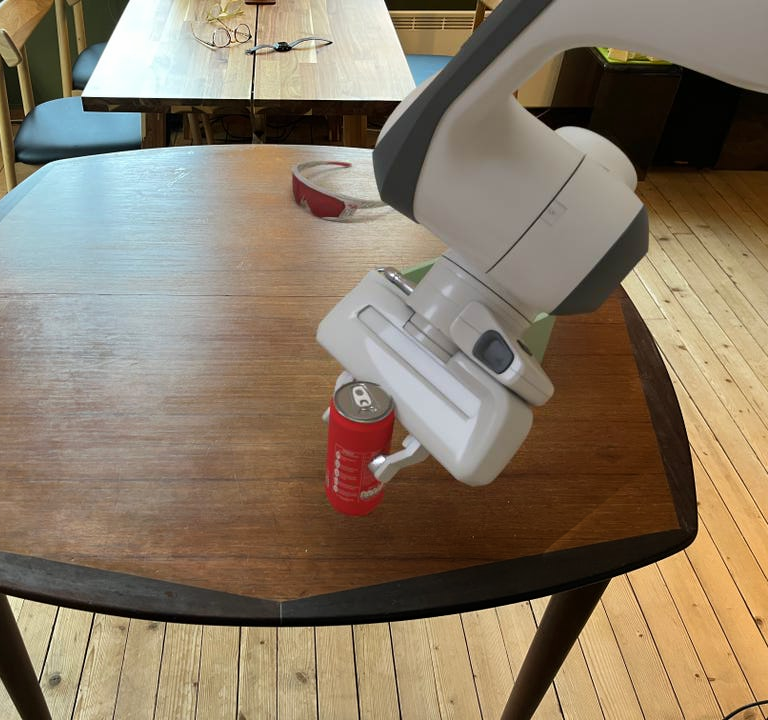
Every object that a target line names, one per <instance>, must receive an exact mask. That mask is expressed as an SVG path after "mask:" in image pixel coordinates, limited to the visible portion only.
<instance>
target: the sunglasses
mask: <svg viewBox="0 0 768 720" xmlns="http://www.w3.org/2000/svg"><path fill="white" fill-rule="evenodd" d="M329 165H330V166H332V165H333V166H339V167H346V168H350V167H352V166H353V163H352V162H347V161H341V160H307V161H301V162H298V163H296V164H294V165H293V167H292V171H291V191H292V198H293V201H295V202H296V204H297V205H302V204H303V202H305V201H306V203H307V206H308V208H309V210H310V212H311V213H312V215H313V216H315V217H318V218H321V219H323V220H329V221H344V220H347V219H348V218H349V217H353V216H354V215H355V213H356V212H357V211H358V210H371V209H378V208H383V207H384V208H385V207H390V206H389V205H387V204H386V203H384V202H383V201H382V200H375V199H374V200H373V199H361V198H356V197H352V196H349V195H345V194H341V193H338V192H335V191H331V190H329V189H327V188H324V187H321V186H319V185H317V184H316V183H315V184H314V183H313V182H312V181H310V180H309V179H307V178H306V177H304V176H303V175H302V174H300V173H301V172H303V171H305V170H307V169H311V168H314V167H318V166H320V167H321V166H329Z"/></svg>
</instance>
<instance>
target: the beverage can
mask: <svg viewBox="0 0 768 720" xmlns="http://www.w3.org/2000/svg"><path fill="white" fill-rule="evenodd" d="M377 386H381V385H379V384H377V383H375V382H371V381H365V380H357V381H351V382H348V383H346V384H344V385H342V386H341V387H339V388H338V389H337V391H336V392H335V394H334V393H333V395H334V397H333V396H332V398H331V399H330V403H329V407H330V412H329V426H328V430H327V447H326V460H325V462H326V463H325V476H324V477H325V478H324V493H325V496H326V499H327V500H328V502H329V504H330V505H331V507H332V509H334V510H335V511H336V512H337V513H339V514H340V515H342V516H345V517H348V518H362V517H365V516H368V515H369V514H371V513H372V512H373V511H374V510H375V509H376V508H377V507H378V506H379V505H380V503H382V501H383V498H384V496H385V495H384V494H385V488H386V483H383V482H380V481H378V480H377V479H376V478H375V477H374V476H373V475H372V473H371V472H370V471H369V470H368V469H367V466H368V464H369V463H370V462H372V461H373V459H374V457H375V456H376V455H377V454H378V453H379V452H381V453H384V454H385V455H386V454H387V455H389V456H390V455H391V447H392V440H393V433H394V426H395V420H396V419H395V418H394V410H393V405H394V402H393V398H392V396H391V395H390V397H391V401H389V398H388V396H387V394H386V393H385V392H384V391H383V390H382V389H381V388H379V387H377Z"/></svg>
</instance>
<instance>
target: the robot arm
mask: <svg viewBox="0 0 768 720" xmlns="http://www.w3.org/2000/svg"><path fill="white" fill-rule="evenodd" d="M589 47H591V48H605V49H612V50H619V51H624V52H628V53H634V54H638V55H642V56H645V57H649V58H654V59H658V60H661V61H665V62H669V63H671V64H675V65H678V66H680V67H681V66H682V67H684V68H687V69H690V70H692V71H695V72H698V73H700V74H703V75H706V76H707V77H708V76H709V77H711V78H713V79H716V80H718V81H722V82H724V83H726V84H730V85H732V86H735V87H738V88H741V89H745V90H749V91H754V92H758V93H763V94H768V0H501V1H500V2H499V3H498V4H497V5H496V6H495V8H494V9H493V10H492V11H491V12H490V13H489V14H488V16H487V17H486V18H485V19H484V20H483V21H482V22H481V23H480V24H479V26H478V27H476V29H475V30H474V31H473V32H472V33H471V35H470V36H469V37H468V38H467V40H465V41H464V42H463V43H462V45H461V46H460V49H459V50H458V51H457V52H456V54H455V55H454V56H453V57H452V58H451V60H449V62H447V64H446V65H445V66H444V67H442V68H441V69H440V70H438V71H436V72H435V73H434V74H432V75H431V76H429V77H428V78H426V79H425V80H424V81H422V82H421V83H420V84H418V85H417V86H416V87H415V88H414V89H412V90H411V91H410V92H409V93H408V94H407V95H406V97H405V98H403V100H401V102H400V103H399V104H398V105H397V106H396V108H395V109H394V110H393V112H392V113H391V114H390V115H389V117H388V118H387V120H386V122H385V123H384V124H383V127H382V128H381V130H380V132H379V135H378V137H377V139H376V142H375V146H374V149H373V150H372V152H371V158H372V160H371V161H372V167H373V175H374V179H375V185H376V186H377V188H376V189H377V191H378V195H379V198H380V201H383V202H384V203H386V204H387V205H389V206H388V207H390V208H392V209H394V210H395V211H397V212H398V213H399V214H401V215H403V216H404V217H405V218H407V219H409V220H410V221H412V222H414V223H415V224H417V225H421V226H422V227H424V228H425V230H427V231H429V232H430V233H431V234H433V235H434V236H435V237H436V238H437V239H439V240H440V241H442V242H443V243H444V244H445V245H446V246H448V248H447V249H446V250H445V251H444V252H443V253H442V254H441V255H440V256H441V257H440V258H439V259H438V260H437V261H436V263H435V264H434V265H433V267H432V268H431V269H430V270H429V272H428V273H427V274H426V275H425V276H424V278H423V279H422V280H421V281H420V283H419V284H418V285H416V284H415V283H414V282H412V281H410V280H409V279H407V278H406V277H404V276H403V275H402V274H401V272H399V271H400V270H398V269H397V268H396V267H393V266H388V267H383V266H381V267H377V268H373V269H370V270H369V271H368V272H367V273H366V274H365V276H364V277H363V278H361V281H359V283H358V284H357V285H356V286H355V287H353V288H352V289H351V290H350V291H349V292H348V293H347V294H346V295H345V296H343V298H342V299H341V300H340V301H338V303H337V304H335V306H334V307H333V308H332V309H331V310H330V311H329V312H328V314H326V316H324V317H323V319H322V320H321V321H320V323H319V324H318V326H317V330H316V336H315V340H316V342H317V343H318V344H319V345H320V347H322V348H323V349H324V350H325V351H326V352H327V353H328V354H329V355H330V356H331V357H332V358H333V359H334V360H335V361H337V363H338V364H339V365H340V366H341V367H342V368H343V371H342V372H341V374H339V376H338V377H337V378H336V382H335V387H334V391H333V395H332V398H333V397H334V394H335V392H336V391H337V389H338V388H339V387H341V386H342V385H344V384H346V383H348V382H351V381H357V380H365V381H371V382H375V383H377V384H379V385H381V386H377V387H379V388H381V389H382V390H383V391H384V392H385V393H386V394H387V396H388V398H389V401H391V397H390V395H391V396H392V398H393V402H394V405H393V410H394V418H395V420H396V421H397V422H398V424H400V425H401V426H402V427H403V428H404V429H405V430H406V431H407V432H408V435H407V436H406V437H405V438H404V440H402V442H401V446H402V447H404V448H405V449H402V450H400V451H397V452H395V453H393V454H389V455H387V454H386V455H385V454H384V453H381V452H379V453H378V454H377V455H376V456H375V457H374V459H373V461H372V462H370V463H369V464H368V466H367V469H368V470H369V471H370V472H371V473H372V475H373V476H374V477H375V478H376V479H377V480H378V481H380V482H383V483H385V484H386V483H388V482H390V481H391V480H392V479H393V478H394V476H395V475H396V474H397V473H398V472H399V471H400V470H401V469H404V468H407V467H410V466H412V465H415V464H419V463H421V462H424V461H426V460H427V458H428V457H429V456H430V455H431V456H432V457H433V458H434V459H435V460H436V461H437V462H438V463H440V465H441V466H443V468H444V469H445V470H446V471H447V472H448V473H450V474H451V475H452V476H453V478H454V479H456V480H457V481H458V482H461V483H463V484H464V485H468V486H470V487H481V486H486V485H489V484H490V483H493V481H495V479H496V478H497V477H498V476H499V475H500V474H501V473H502V471H503V470H504V469H505V468H506V467H507V465H508V464H509V462H511V460H512V459H513V457H514V456H515V455H516V453H517V452H518V451H519V450H520V448H521V446H522V445H523V443H524V442H525V440H526V438H527V437H528V435H529V433H530V431H531V428H532V425H533V421H534V415H533V409H532V407H531V405H532V406H534V407H541V406H544V405H545V404H546V403H547V402H549V400H550V399H551V398H552V396H553V395H554V393H555V387H554V385H553V382H552V381H551V379H550V378H549V376H548V375H547V374H546V372H545V371H544V369H543V368H542V366H541V365H539V363H538V362H537V360H536V359H535V357H534V356H533V354H532V353H531V351H530V350H529V348H528V346H527V345H526V343H525V342H524V340H523V339H522V335H523V334H524V333H525V331H526V330H527V329H528V328H529V327H530V326H531V324H532V323H533V322H534V320H535V318H536V316H537V314H538V312H539V311H542V312H544V313H547V314H548V315H551V316H556V317H563V316H564V317H565V316H577V315H583V314H584V315H585V314H591V313H595V312H597V311H598V310H599V309H600V308H601V307H602V305H604V303H605V302H606V301H607V300H608V299H609V298H610V297H611V295H612V294H613V293H614V292H615V291H616V290H617V288H619V286H620V285H621V283H622V282H623V281H624V280H625V279H626V277H628V276H629V274H630V273H631V272H632V271H633V269H635V267H636V266H637V265H639V263H640V262H641V260H643V258H644V257H646V255H647V254H648V252H649V247H650V221H649V213H648V209H647V206H646V204H645V203H643V202H642V200H641V199H640V198H639V196H638V195H637V194H636V193H635V190H636V188H637V185H638V175H637V172H636V169H635V166H634V165H633V163H632V162H631V160H630V159H629V157H628V156H627V155H626V153H625V152H624V151H622V149H621V148H619V146H618V145H616V144H614V143H613V142H612V141H611V140H609V139H608V138H606V137H604V136H603V135H601V134H599V133H597V132H595V131H593V130H591V129H587V128H584V127H579V126H562V127H559V128H557V129H556V130H553V129H551V128H550V127H549V126H547V125H546V124H545V123H544V122H543V121H541V120H540V119H538V117H536V116H535V115H533V114H532V113H531V112H529V111H528V110H527V109H526V108H525V107H524V106H523V105H522V104H521V103H520V102H519V100H517V98H516V97H515V96H514V93H515V92H517V90H519V89H520V88H521V87H522V86H523V85H524V84H525V83H527V82H528V81H529V80H530V79H531V78H532V77H533V76H535V75H536V74H537V73H538V72H539V71H540V70H541V69H542V68H544V67H545V66H546V65H547V64H548V63H549V62H551V60H552V59H554V58H555V57H557V56H558V55H559V54H561V53H562V52H565V51H569V50H571V49H577V48H589ZM382 273H383V274H382ZM385 276H386V277H385ZM393 283H394V284H396V285H397V286H399V287H400V288H401V289H399V288H398V287H397V286H396V285H394V284H393ZM329 412H330V406H329V407H327V409H326V410H325V411H324V412H323V414H322V416H321V420H322V421H323V422H324V423H325V424H326V425H327V426H328V427H329Z"/></svg>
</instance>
